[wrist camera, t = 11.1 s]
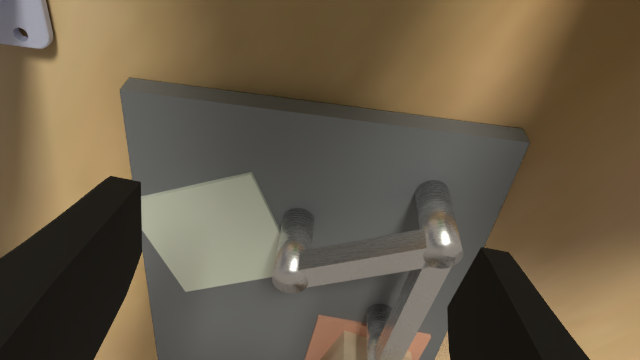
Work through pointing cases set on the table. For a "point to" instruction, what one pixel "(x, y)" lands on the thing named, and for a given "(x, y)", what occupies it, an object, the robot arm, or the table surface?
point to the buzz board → (287, 193)
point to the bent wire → (378, 266)
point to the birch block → (351, 348)
